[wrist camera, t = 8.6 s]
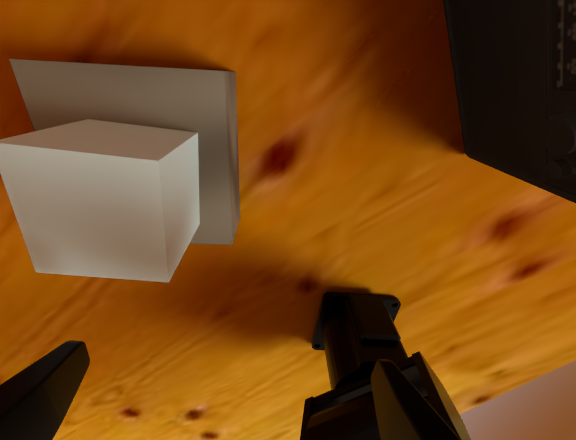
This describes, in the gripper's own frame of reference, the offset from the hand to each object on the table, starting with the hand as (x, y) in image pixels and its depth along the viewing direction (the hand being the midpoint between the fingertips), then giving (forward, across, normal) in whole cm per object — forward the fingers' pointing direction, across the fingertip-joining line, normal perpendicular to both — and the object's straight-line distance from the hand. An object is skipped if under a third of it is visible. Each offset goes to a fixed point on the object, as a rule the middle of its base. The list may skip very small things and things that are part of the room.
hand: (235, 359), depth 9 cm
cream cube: (+8, +6, -3) cm, 10 cm away
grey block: (+12, +6, -3) cm, 14 cm away
